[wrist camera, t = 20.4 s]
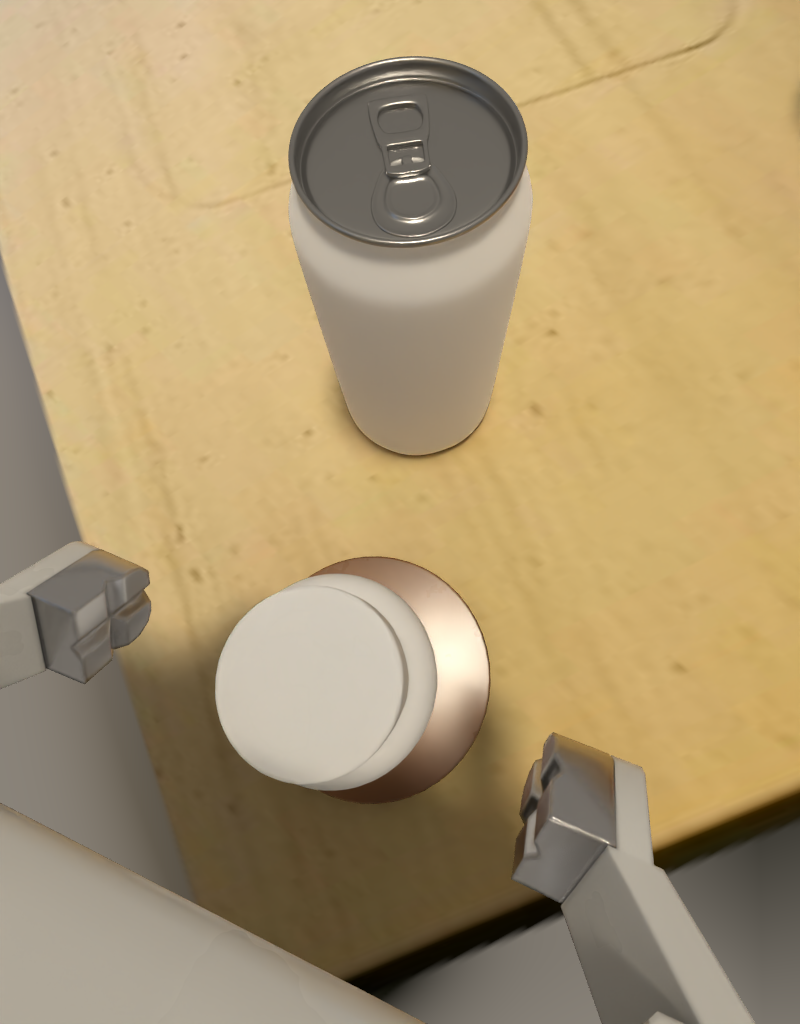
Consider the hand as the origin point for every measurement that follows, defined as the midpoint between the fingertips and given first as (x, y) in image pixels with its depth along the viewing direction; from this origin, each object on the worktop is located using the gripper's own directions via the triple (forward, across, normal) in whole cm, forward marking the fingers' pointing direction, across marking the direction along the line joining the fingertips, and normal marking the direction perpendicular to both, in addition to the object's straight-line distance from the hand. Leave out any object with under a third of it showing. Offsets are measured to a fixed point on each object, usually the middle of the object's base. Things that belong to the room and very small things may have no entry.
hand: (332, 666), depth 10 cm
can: (+16, +3, 0) cm, 16 cm away
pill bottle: (+7, +1, +8) cm, 11 cm away
